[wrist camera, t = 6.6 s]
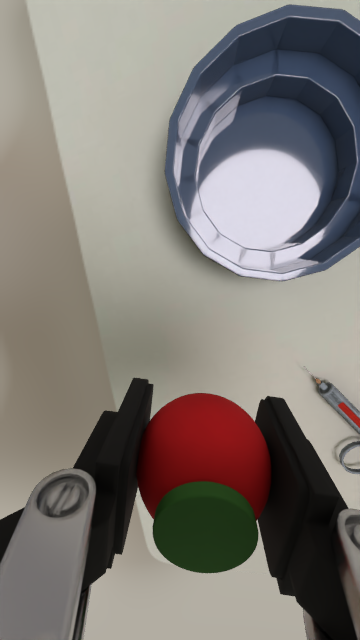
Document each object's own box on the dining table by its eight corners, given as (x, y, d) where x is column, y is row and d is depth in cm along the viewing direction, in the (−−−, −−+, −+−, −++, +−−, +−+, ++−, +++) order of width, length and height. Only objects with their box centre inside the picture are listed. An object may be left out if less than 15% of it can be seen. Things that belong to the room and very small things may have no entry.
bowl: (165, 260, 21) (155, 265, 17) (185, 60, 18) (180, -7, 13) (329, 281, 21) (368, 292, 16) (385, 81, 17) (456, 19, 13)
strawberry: (144, 454, 11) (112, 583, 7) (153, 364, 10) (123, 453, 6) (243, 469, 11) (273, 607, 7) (265, 379, 9) (317, 481, 5)
